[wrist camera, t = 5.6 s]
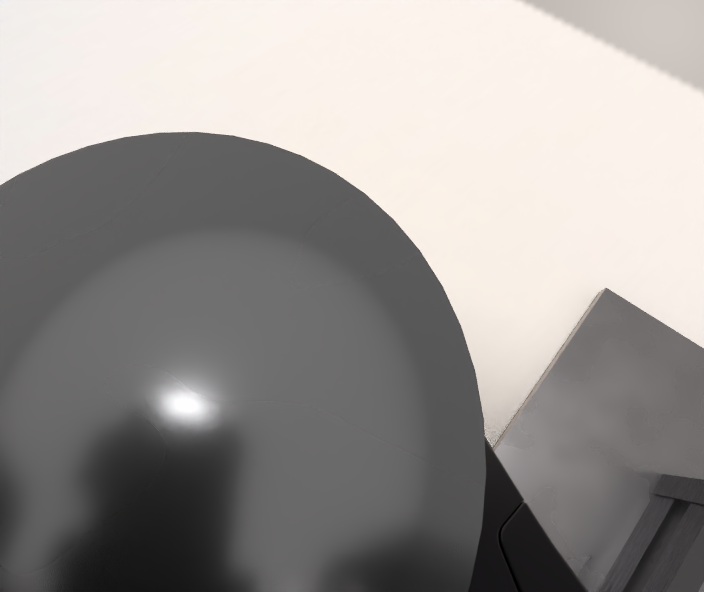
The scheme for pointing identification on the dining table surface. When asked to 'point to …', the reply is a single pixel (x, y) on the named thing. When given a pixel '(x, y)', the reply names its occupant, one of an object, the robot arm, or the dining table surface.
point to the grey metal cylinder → (226, 381)
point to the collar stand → (617, 452)
